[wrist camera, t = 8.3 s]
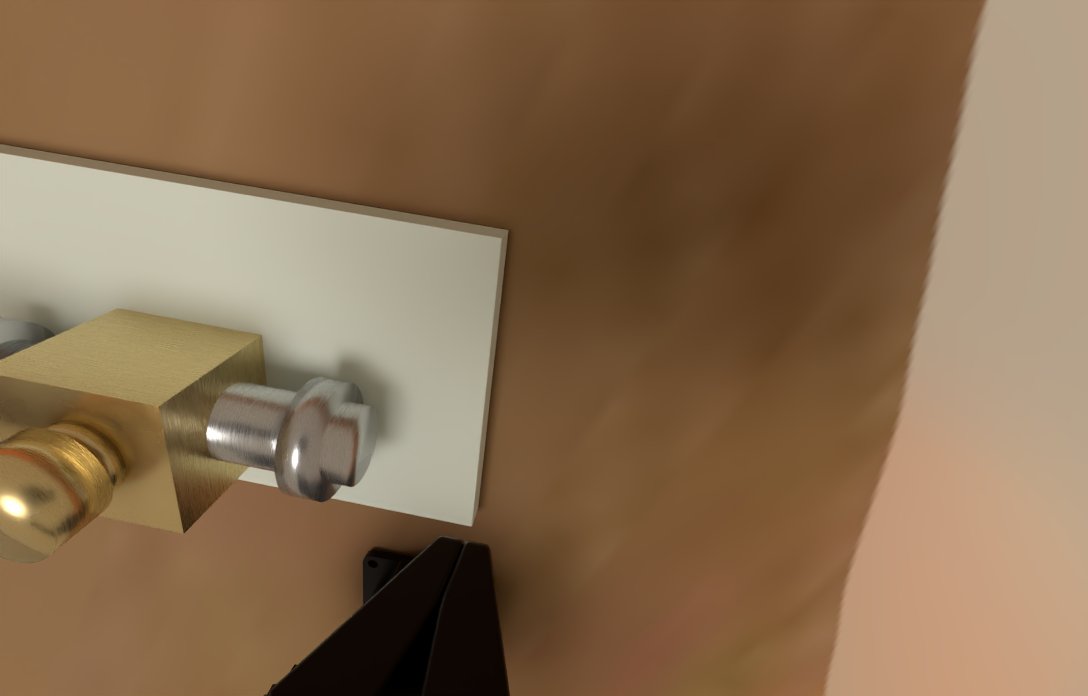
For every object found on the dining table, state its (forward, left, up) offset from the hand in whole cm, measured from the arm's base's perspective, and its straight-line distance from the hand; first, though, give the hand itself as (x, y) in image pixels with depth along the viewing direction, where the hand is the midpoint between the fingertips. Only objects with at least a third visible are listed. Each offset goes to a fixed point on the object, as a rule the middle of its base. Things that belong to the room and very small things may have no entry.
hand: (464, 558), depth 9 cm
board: (-4, +14, -13) cm, 20 cm away
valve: (-6, +14, -12) cm, 19 cm away
